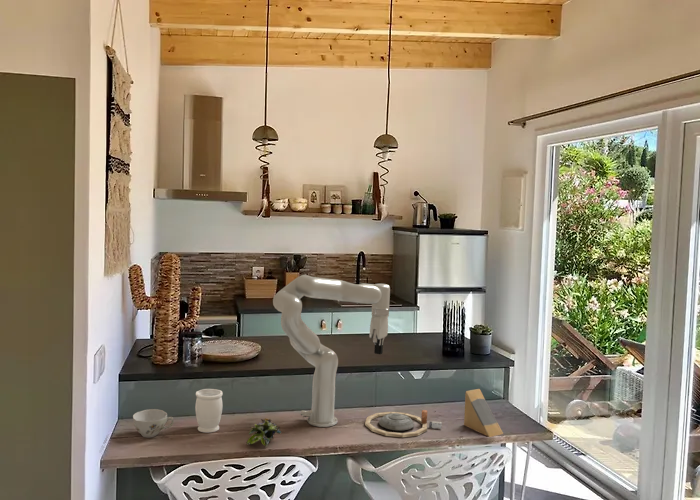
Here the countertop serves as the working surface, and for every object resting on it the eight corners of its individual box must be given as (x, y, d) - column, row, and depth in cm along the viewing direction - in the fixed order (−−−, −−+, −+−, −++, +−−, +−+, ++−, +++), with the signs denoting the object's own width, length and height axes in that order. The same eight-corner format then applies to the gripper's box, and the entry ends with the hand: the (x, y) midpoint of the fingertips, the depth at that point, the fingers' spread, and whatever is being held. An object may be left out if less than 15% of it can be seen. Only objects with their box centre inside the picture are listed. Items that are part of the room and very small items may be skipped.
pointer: (429, 428, 251) (429, 422, 251) (429, 426, 253) (429, 421, 253) (441, 429, 251) (441, 423, 251) (441, 427, 253) (441, 421, 252)
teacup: (130, 441, 225) (130, 421, 225) (134, 429, 237) (135, 409, 237) (172, 440, 229) (172, 419, 228) (174, 427, 241) (174, 408, 240)
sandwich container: (489, 437, 244) (491, 401, 243) (463, 425, 257) (465, 391, 256) (504, 434, 249) (506, 398, 248) (477, 421, 262) (479, 388, 261)
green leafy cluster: (265, 454, 232) (282, 426, 235) (269, 460, 222) (288, 431, 225) (241, 438, 230) (259, 411, 233) (244, 444, 220) (263, 415, 223)
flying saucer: (419, 424, 256) (419, 411, 256) (406, 436, 243) (407, 422, 242) (386, 417, 263) (387, 405, 262) (372, 428, 249) (373, 415, 249)
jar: (227, 427, 243) (228, 391, 242) (211, 436, 234) (211, 398, 233) (206, 422, 248) (206, 386, 246) (189, 430, 238) (190, 393, 237)
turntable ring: (405, 442, 235) (405, 427, 235) (353, 425, 251) (354, 411, 250) (438, 424, 255) (438, 411, 255) (388, 410, 271) (389, 397, 271)
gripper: (379, 308, 271) (377, 348, 272) (365, 313, 257) (363, 355, 259) (394, 310, 267) (392, 351, 269) (381, 315, 254) (379, 358, 256)
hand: (378, 353), depth 264 cm, fingers closed
